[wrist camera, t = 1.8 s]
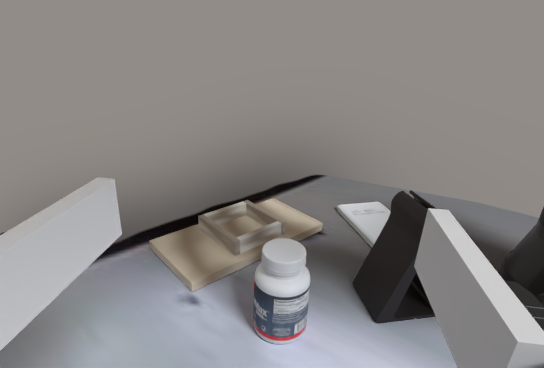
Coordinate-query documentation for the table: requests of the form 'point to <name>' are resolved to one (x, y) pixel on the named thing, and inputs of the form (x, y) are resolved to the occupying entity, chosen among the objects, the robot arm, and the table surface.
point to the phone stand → (396, 265)
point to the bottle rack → (230, 240)
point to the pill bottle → (281, 292)
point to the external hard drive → (366, 219)
